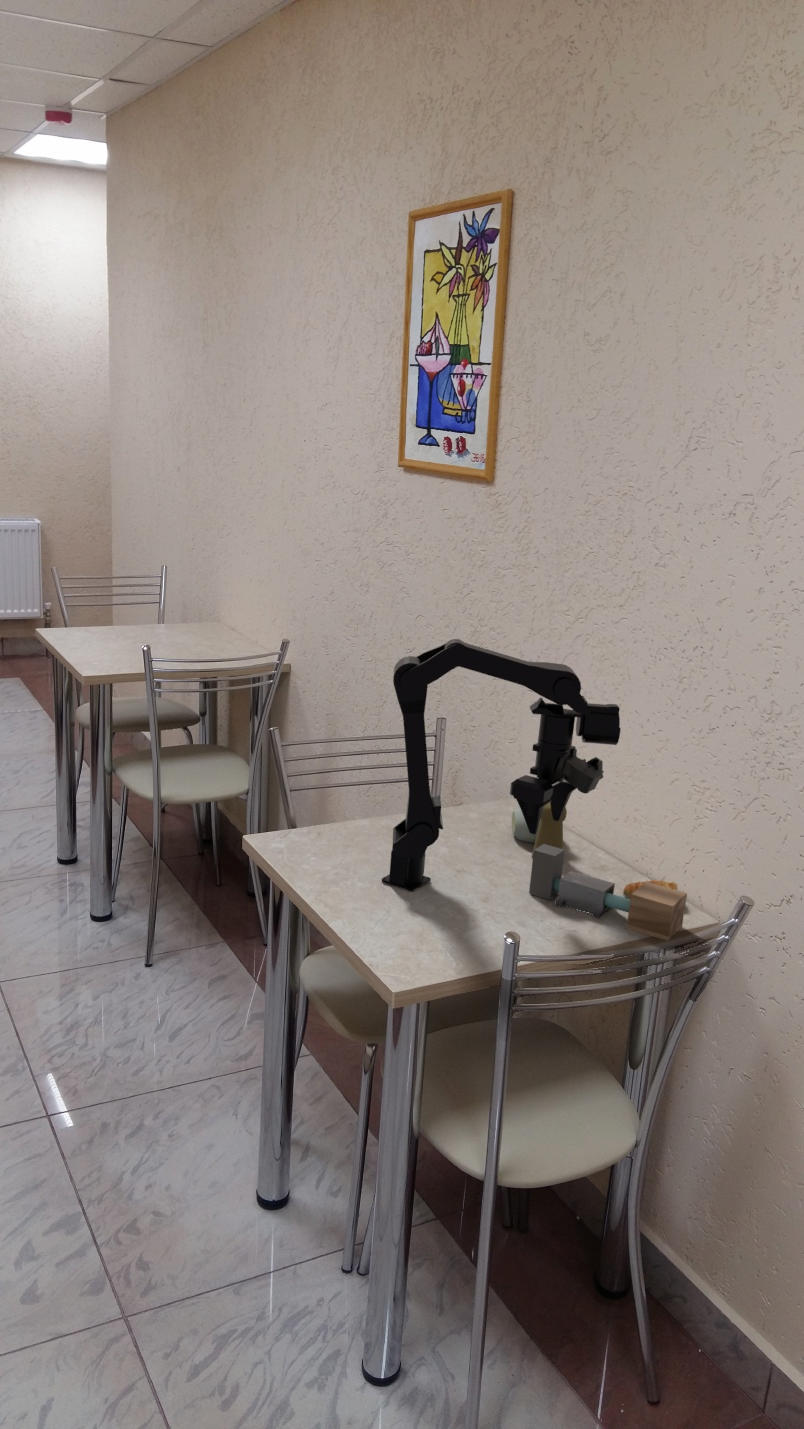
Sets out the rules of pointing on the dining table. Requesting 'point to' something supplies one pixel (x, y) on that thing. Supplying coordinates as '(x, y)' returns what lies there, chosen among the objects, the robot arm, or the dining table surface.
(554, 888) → the tube
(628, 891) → the pastry
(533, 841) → the air freshener
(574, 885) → the sleeve
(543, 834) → the cork
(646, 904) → the socket block
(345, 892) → the dining table surface
